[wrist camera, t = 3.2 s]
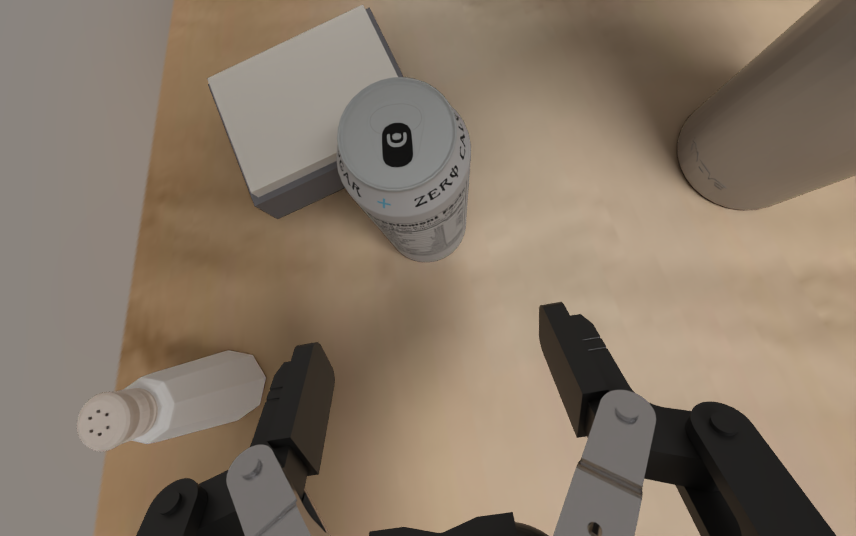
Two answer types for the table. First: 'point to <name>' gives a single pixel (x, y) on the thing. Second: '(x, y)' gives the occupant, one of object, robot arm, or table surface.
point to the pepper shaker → (174, 402)
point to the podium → (299, 108)
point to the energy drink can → (407, 165)
